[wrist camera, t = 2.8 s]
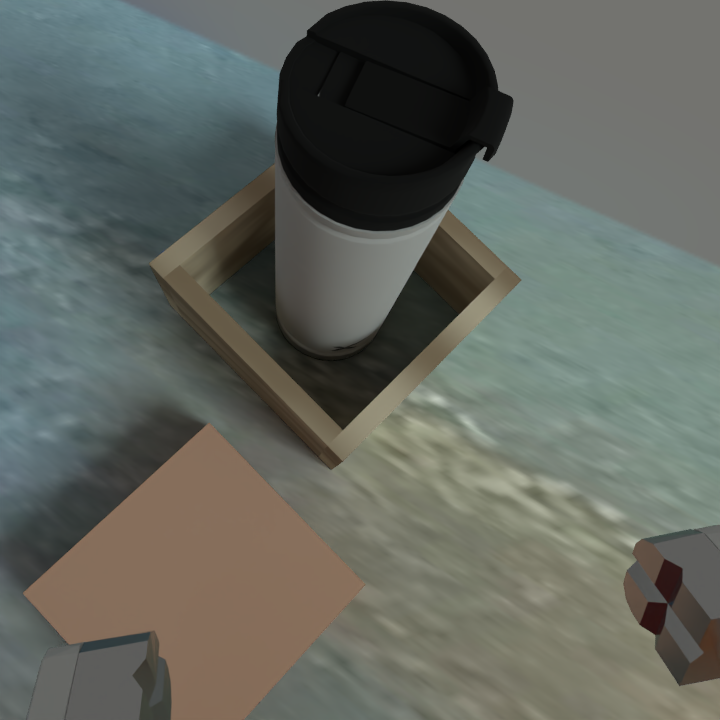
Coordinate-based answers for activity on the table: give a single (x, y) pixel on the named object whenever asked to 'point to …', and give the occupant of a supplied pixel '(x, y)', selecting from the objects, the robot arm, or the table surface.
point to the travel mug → (371, 162)
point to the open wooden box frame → (283, 395)
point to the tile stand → (202, 580)
